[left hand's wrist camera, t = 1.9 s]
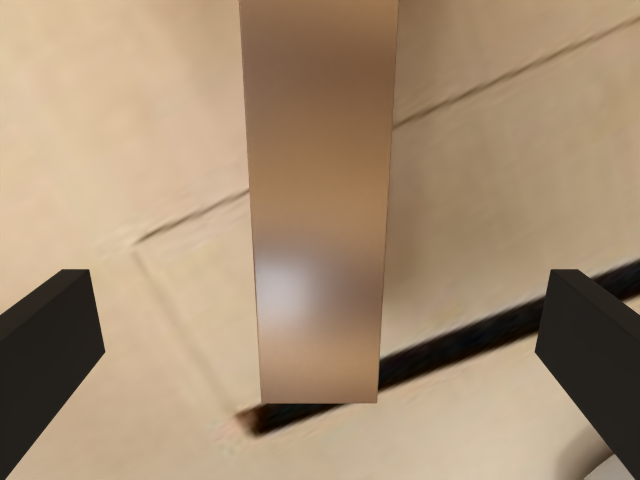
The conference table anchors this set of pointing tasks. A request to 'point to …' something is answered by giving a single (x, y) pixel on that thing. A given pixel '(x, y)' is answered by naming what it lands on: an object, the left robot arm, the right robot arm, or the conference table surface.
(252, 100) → the bar
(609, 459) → the projector
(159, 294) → the conference table surface
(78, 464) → the conference table surface
